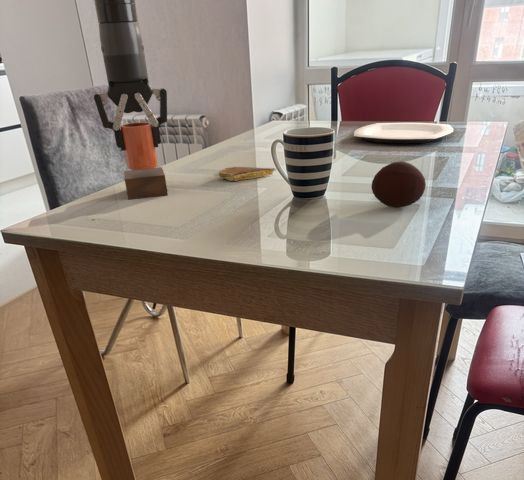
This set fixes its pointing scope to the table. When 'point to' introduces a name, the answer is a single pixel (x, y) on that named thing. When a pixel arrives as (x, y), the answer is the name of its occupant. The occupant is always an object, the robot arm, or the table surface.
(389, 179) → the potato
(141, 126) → the cup
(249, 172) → the cake slice
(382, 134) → the plate
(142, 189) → the block
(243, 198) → the table surface
